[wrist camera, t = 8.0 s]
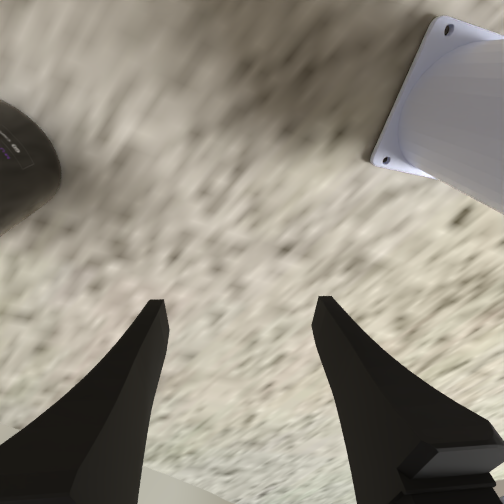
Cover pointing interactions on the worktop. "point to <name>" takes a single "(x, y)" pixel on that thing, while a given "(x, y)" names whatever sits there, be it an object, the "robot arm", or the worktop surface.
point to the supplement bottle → (24, 167)
